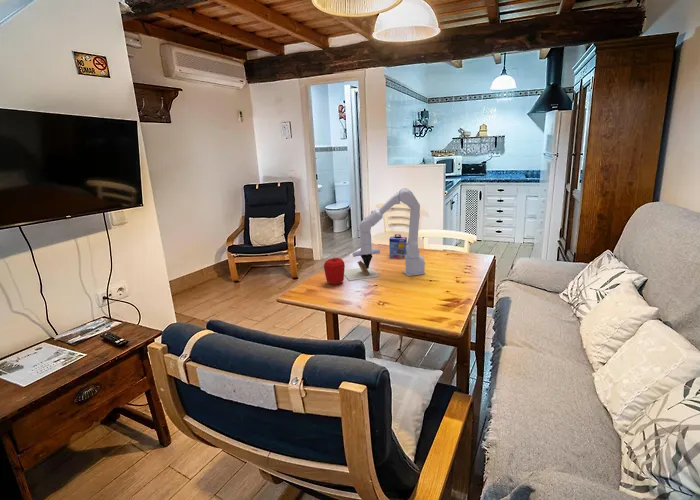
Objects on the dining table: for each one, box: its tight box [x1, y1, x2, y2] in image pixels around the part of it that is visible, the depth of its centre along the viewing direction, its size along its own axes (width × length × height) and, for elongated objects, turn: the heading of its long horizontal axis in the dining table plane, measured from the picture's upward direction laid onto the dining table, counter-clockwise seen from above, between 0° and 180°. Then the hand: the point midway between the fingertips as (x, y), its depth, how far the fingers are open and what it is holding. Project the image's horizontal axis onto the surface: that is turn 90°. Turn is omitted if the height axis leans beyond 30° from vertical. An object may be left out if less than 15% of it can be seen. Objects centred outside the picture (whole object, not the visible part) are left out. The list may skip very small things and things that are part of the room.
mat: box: [344, 266, 380, 282], centre depth 204 cm, size 16×16×1 cm
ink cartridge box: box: [388, 234, 408, 260], centre depth 227 cm, size 10×6×14 cm, turn 74°
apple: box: [323, 257, 345, 286], centre depth 191 cm, size 11×10×14 cm
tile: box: [357, 260, 370, 276], centre depth 202 cm, size 2×8×6 cm, turn 15°
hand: (366, 268), depth 202 cm, fingers closed
